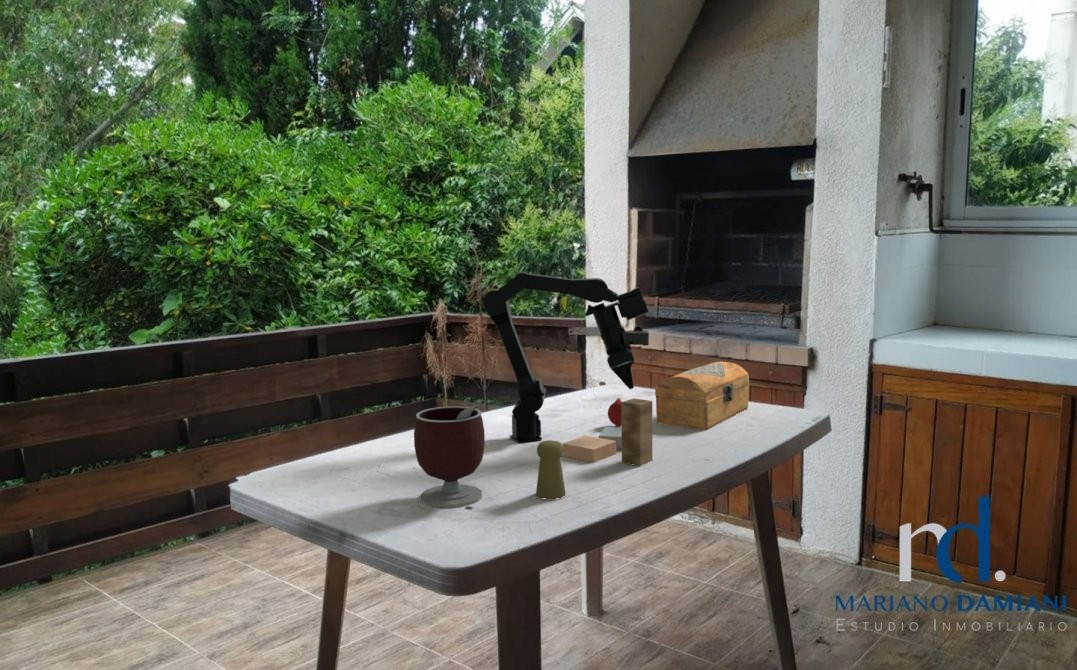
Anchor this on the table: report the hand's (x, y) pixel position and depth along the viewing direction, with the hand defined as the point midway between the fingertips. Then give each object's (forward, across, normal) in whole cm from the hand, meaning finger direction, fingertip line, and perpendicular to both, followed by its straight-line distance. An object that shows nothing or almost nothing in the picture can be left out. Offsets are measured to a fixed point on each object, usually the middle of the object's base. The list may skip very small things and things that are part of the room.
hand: (631, 385), depth 196 cm
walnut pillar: (+13, -19, +4) cm, 24 cm away
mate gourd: (+1, -45, +39) cm, 60 cm away
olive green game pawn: (+8, -43, +21) cm, 48 cm away
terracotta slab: (+10, -14, +14) cm, 22 cm away
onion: (+12, +13, +7) cm, 19 cm away
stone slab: (+12, -4, +7) cm, 15 cm away
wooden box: (+21, +26, -16) cm, 37 cm away
